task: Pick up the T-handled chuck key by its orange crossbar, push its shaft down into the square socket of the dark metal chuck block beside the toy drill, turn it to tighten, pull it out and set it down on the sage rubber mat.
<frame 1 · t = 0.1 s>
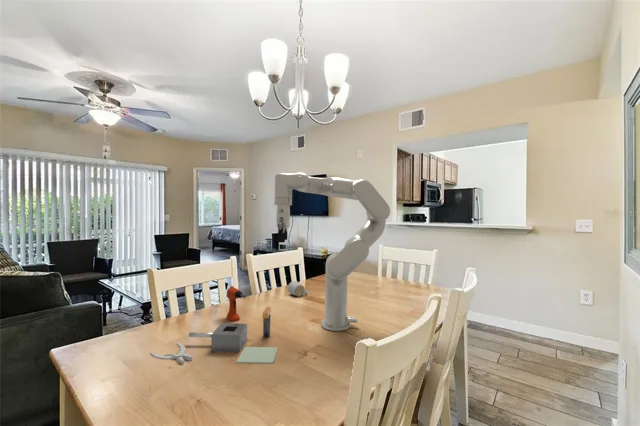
hand: (282, 241, 125), 37 cm above the table, tool pointing down, fingers open, 9 cm apart
chuck block: (229, 345, 106), on the table
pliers: (175, 356, 98), on the table
toy drill: (236, 322, 128), on the table
mat: (258, 355, 99), on the table
ceramic mug: (298, 295, 170), on the table
chuck key: (266, 336, 114), on the table
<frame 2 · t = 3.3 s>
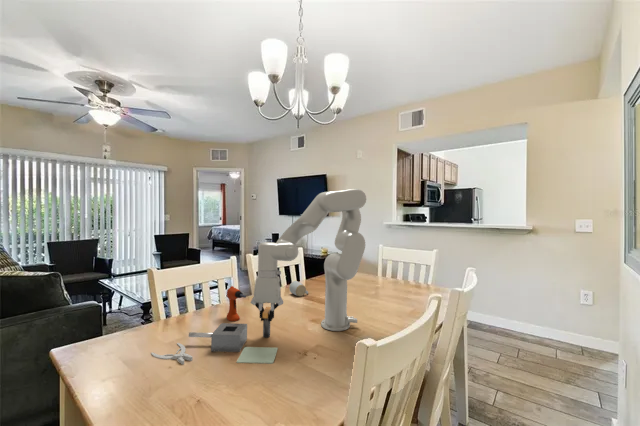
hand: (266, 319, 114), 7 cm above the table, tool pointing down, fingers closed on chuck key, 2 cm apart
chuck key: (266, 336, 114), on the table, touching gripper
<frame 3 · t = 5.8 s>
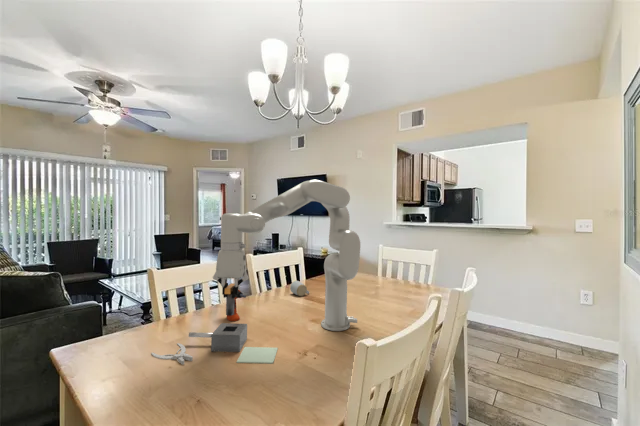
hand: (230, 296, 105), 18 cm above the table, tool pointing down, fingers closed on chuck key, 2 cm apart
chuck key: (230, 314, 106), point 11 cm above the table, touching gripper
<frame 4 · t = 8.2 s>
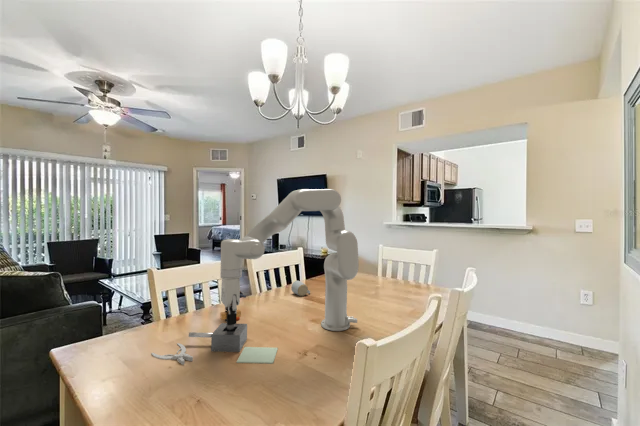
hand: (230, 322, 106), 8 cm above the table, tool pointing down, fingers closed on chuck key, 2 cm apart
chuck key: (230, 340, 106), point 2 cm above the table, touching gripper
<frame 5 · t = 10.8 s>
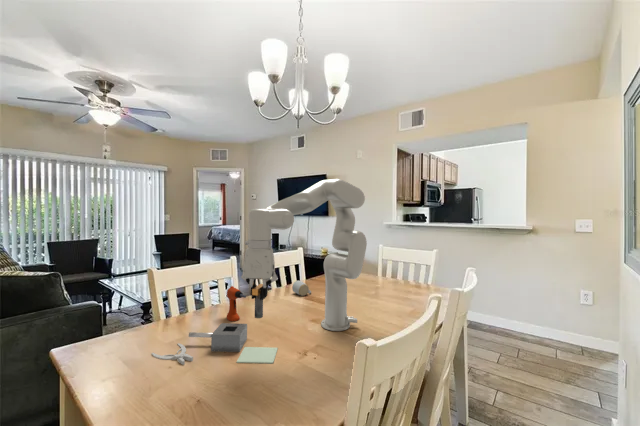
hand: (259, 297, 99), 20 cm above the table, tool pointing down, fingers closed on chuck key, 2 cm apart
chuck key: (258, 316, 99), point 13 cm above the table, touching gripper
when the fingers open (9 cm above the table, at t = 13.1 s): chuck key drops 2 cm, resting on mat.
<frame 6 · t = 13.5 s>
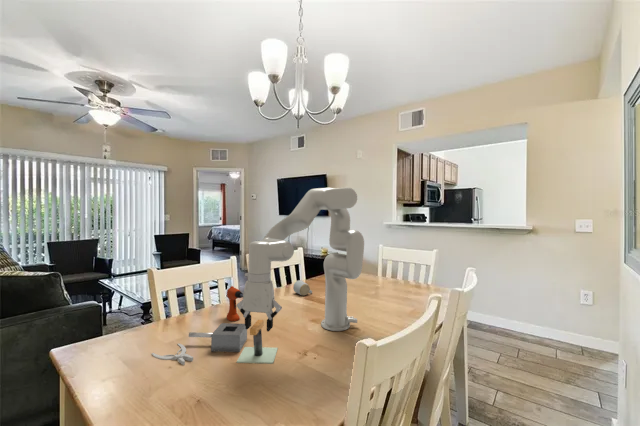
hand: (258, 328, 99), 9 cm above the table, tool pointing down, fingers open, 7 cm apart
chuck key: (258, 353, 99), point 1 cm above the table, touching mat
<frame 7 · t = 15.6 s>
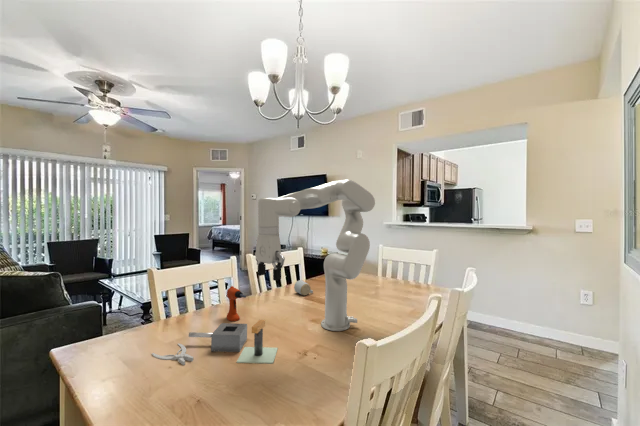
hand: (269, 277, 106), 25 cm above the table, tool pointing down, fingers open, 9 cm apart
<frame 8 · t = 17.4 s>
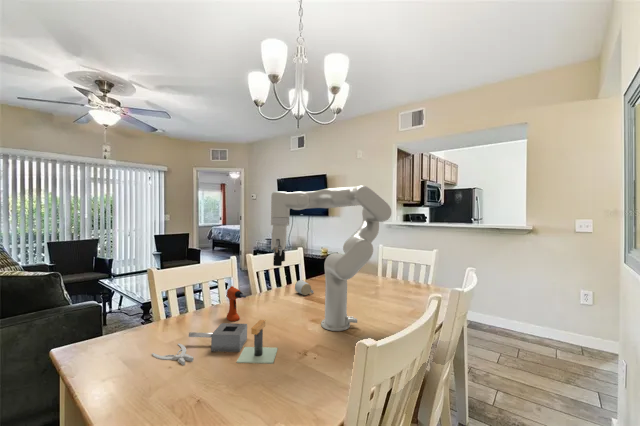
hand: (279, 263, 117), 28 cm above the table, tool pointing down, fingers open, 9 cm apart
at the end: chuck key inside the target area on the mat (0.1 cm from its centre), point 0.4 cm above the mat's base; the gripper is holding nothing; chuck key touching mat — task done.
